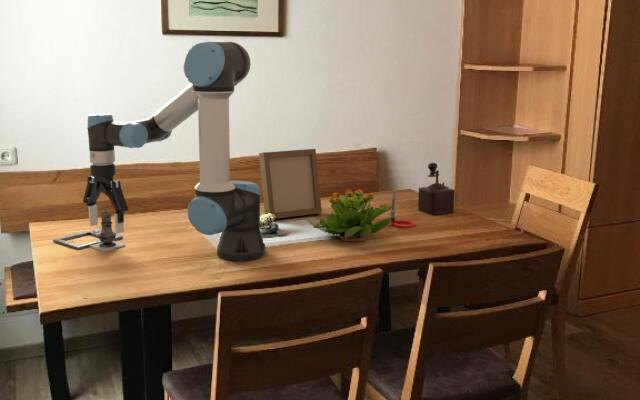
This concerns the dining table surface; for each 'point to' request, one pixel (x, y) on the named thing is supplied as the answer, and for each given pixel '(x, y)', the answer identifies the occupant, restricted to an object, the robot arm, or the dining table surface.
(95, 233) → the grey metal rectangular frame
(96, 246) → the mat
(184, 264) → the dining table surface
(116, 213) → the robot arm
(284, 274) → the dining table surface
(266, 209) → the photo frame
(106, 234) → the dark grey chess piece
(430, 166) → the manual coffee grinder
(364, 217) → the potted flower
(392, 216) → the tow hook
